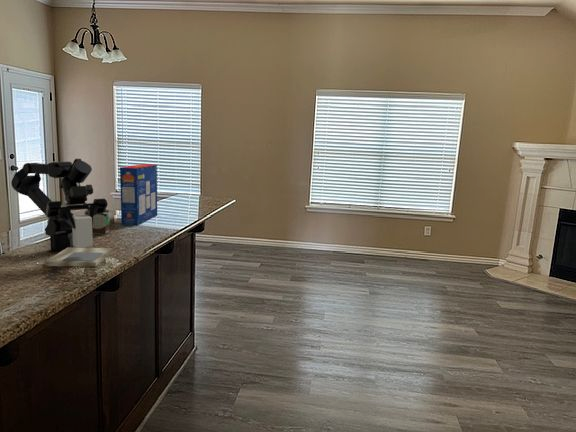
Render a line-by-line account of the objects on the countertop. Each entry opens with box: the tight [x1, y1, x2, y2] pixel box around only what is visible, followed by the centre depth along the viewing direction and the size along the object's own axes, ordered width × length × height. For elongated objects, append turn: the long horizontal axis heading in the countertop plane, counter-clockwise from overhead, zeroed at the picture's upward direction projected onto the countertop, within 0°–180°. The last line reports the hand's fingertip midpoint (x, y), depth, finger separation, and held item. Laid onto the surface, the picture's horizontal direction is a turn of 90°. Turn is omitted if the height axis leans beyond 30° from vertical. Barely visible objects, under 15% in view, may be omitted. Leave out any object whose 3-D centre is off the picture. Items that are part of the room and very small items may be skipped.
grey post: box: [71, 214, 94, 248], centre depth 144 cm, size 5×5×10 cm
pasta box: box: [119, 163, 158, 227], centre depth 216 cm, size 28×8×28 cm, turn 178°
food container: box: [83, 209, 112, 236], centre depth 187 cm, size 12×6×10 cm, turn 74°
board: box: [44, 247, 113, 267], centre depth 148 cm, size 16×18×2 cm
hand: (83, 227), depth 142 cm, fingers closed on grey post, 5 cm apart
